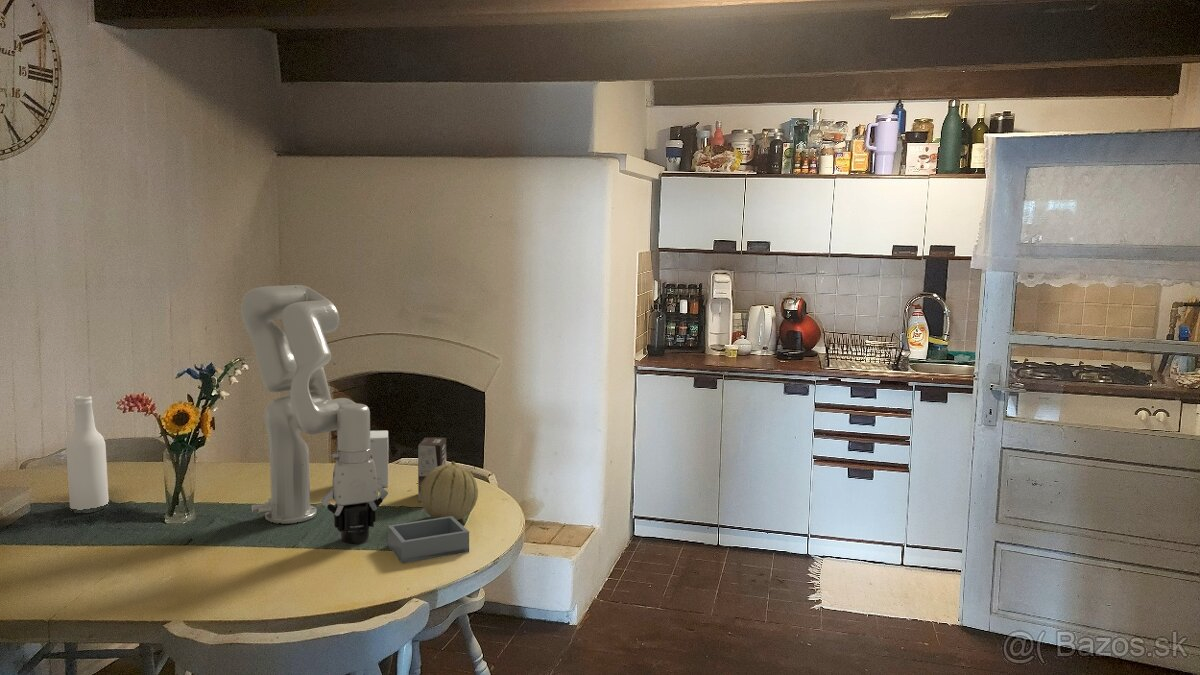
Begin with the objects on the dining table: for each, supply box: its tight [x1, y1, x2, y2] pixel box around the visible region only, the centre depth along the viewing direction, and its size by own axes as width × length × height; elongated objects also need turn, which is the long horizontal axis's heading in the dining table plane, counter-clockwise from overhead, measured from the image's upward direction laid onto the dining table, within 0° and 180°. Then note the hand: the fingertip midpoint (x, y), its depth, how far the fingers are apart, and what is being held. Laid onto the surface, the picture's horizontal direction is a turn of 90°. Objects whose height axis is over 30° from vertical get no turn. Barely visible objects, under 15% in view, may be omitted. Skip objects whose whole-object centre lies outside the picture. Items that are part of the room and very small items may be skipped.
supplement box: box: [370, 430, 389, 488], centre depth 254 cm, size 9×9×15 cm
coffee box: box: [417, 437, 447, 502], centre depth 243 cm, size 9×6×16 cm
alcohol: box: [65, 394, 110, 510], centre depth 226 cm, size 9×9×30 cm
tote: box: [387, 516, 470, 564], centre depth 205 cm, size 16×12×5 cm
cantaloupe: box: [420, 460, 479, 521], centre depth 224 cm, size 15×15×15 cm
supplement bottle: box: [339, 503, 370, 545], centre depth 209 cm, size 7×7×12 cm
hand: (355, 526), depth 210 cm, fingers closed on supplement bottle, 6 cm apart
